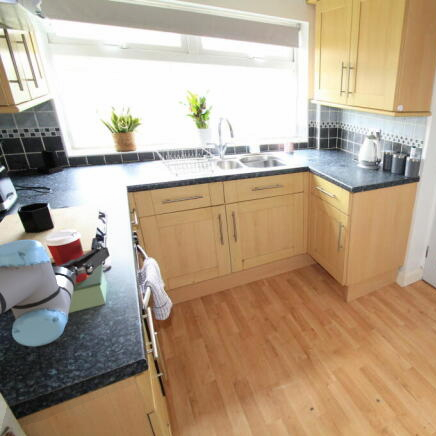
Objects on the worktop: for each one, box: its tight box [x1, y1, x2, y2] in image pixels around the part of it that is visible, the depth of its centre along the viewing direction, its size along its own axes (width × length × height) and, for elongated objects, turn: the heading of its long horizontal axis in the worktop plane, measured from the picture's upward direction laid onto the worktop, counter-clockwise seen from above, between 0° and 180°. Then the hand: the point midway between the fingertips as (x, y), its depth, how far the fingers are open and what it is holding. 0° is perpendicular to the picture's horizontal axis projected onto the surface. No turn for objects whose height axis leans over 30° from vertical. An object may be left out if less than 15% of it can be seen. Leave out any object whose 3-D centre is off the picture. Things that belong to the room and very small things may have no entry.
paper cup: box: [43, 228, 89, 283], centre depth 88 cm, size 8×8×14 cm
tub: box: [68, 263, 108, 314], centre depth 92 cm, size 12×11×8 cm
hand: (65, 247), depth 87 cm, fingers open, 13 cm apart
